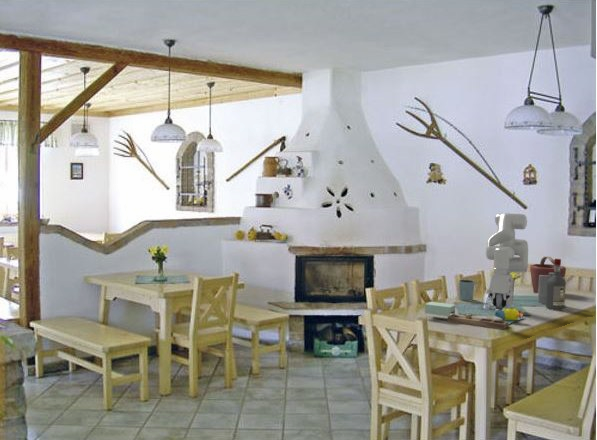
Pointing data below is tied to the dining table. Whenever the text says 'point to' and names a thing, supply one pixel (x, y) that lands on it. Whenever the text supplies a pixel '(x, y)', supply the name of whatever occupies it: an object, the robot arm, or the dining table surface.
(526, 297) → the dining table surface
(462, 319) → the pin board
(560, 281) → the liquor
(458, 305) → the dining table surface
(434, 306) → the cover
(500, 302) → the pin
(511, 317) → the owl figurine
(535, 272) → the bucket
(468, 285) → the drinking glass
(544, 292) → the hip flask
